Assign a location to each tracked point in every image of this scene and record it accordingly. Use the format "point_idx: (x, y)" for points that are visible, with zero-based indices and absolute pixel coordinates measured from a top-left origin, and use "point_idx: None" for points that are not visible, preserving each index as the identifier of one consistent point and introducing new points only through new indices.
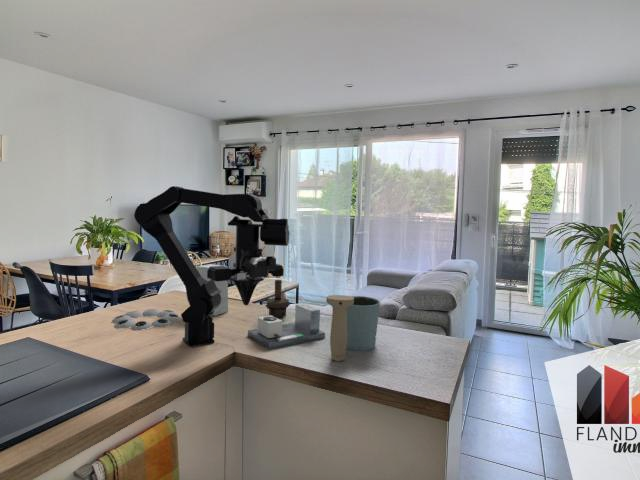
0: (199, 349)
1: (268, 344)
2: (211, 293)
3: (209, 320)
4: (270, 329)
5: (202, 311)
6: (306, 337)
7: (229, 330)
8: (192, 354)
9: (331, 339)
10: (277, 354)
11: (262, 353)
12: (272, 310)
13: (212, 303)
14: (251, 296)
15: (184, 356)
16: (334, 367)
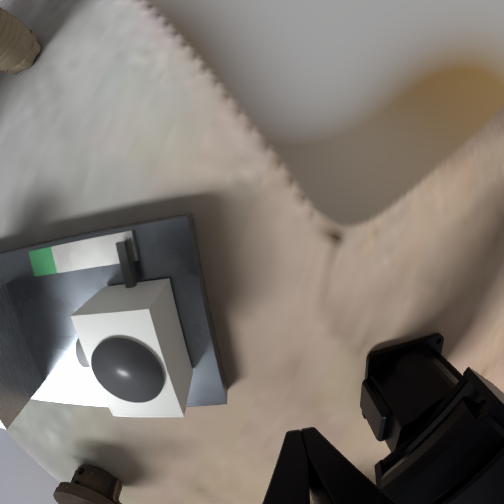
0: (425, 308)
1: (188, 218)
2: (497, 476)
3: (412, 414)
4: (148, 294)
5: (495, 392)
6: (24, 248)
7: (273, 444)
8: (453, 271)
9: (4, 23)
10: (176, 144)
11: (233, 178)
12: (108, 492)
13: (489, 423)
14: (269, 485)
15: (472, 263)
16: (68, 3)
